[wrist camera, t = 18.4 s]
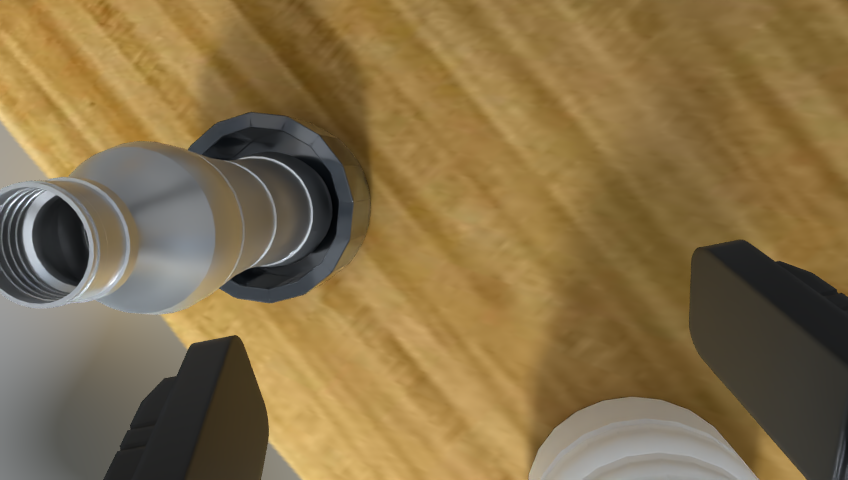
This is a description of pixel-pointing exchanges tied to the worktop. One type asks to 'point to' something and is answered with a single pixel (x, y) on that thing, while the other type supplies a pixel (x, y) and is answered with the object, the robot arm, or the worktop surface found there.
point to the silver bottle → (156, 227)
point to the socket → (337, 174)
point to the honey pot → (637, 445)
